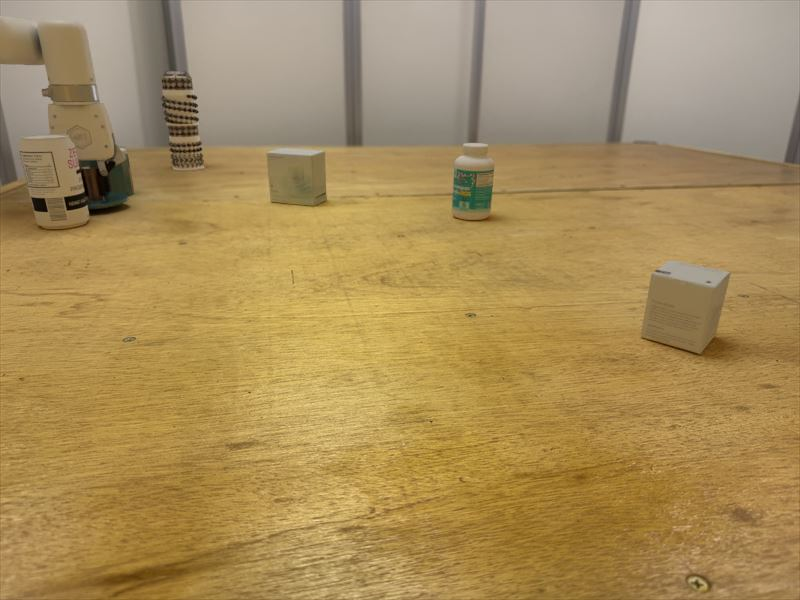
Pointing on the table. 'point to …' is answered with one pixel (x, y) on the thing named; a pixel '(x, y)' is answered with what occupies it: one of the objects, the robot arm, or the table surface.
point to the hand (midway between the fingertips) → (95, 195)
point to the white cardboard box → (684, 305)
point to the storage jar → (117, 175)
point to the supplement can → (54, 180)
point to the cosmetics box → (297, 176)
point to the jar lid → (99, 190)
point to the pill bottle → (473, 183)
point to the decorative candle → (182, 120)
